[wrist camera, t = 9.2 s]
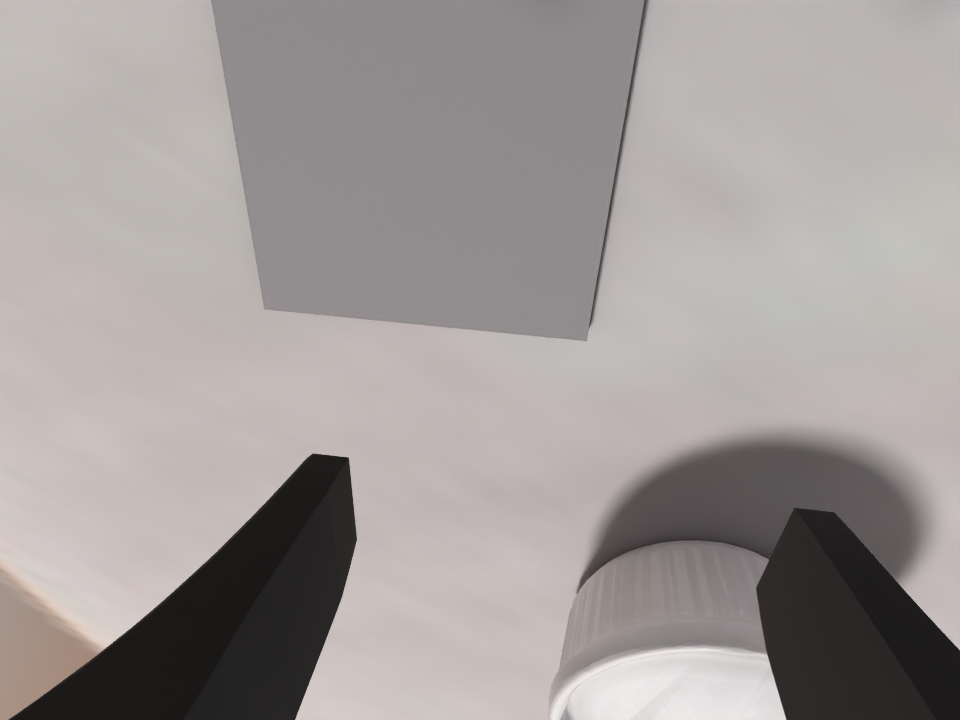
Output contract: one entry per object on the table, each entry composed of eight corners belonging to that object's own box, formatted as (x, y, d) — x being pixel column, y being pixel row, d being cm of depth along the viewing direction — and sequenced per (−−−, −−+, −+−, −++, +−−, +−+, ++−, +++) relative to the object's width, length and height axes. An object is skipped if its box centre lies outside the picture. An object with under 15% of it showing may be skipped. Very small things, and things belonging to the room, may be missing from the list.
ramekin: (518, 538, 25) (509, 665, 21) (821, 494, 22) (884, 632, 18) (586, 688, 31) (590, 812, 26) (836, 669, 28) (886, 806, 23)
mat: (651, -57, 14) (654, -57, 13) (586, 333, 19) (586, 341, 19) (205, -83, 14) (196, -83, 14) (269, 302, 20) (264, 309, 20)
